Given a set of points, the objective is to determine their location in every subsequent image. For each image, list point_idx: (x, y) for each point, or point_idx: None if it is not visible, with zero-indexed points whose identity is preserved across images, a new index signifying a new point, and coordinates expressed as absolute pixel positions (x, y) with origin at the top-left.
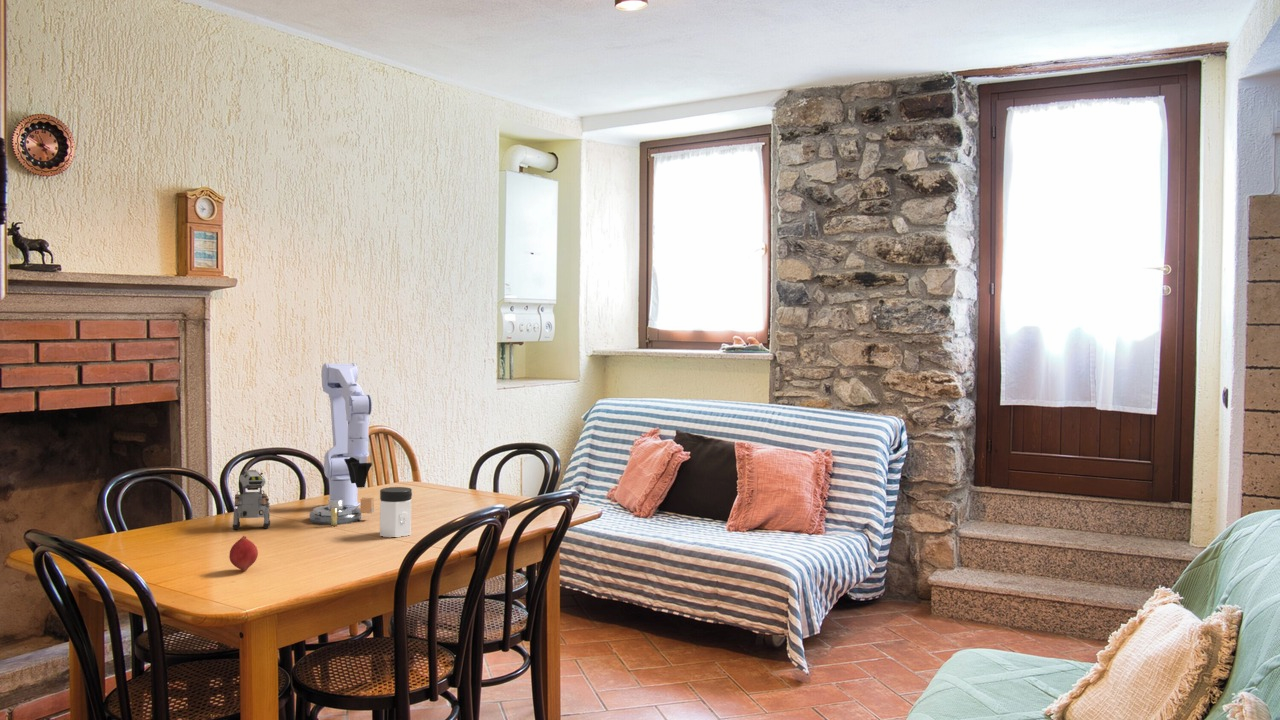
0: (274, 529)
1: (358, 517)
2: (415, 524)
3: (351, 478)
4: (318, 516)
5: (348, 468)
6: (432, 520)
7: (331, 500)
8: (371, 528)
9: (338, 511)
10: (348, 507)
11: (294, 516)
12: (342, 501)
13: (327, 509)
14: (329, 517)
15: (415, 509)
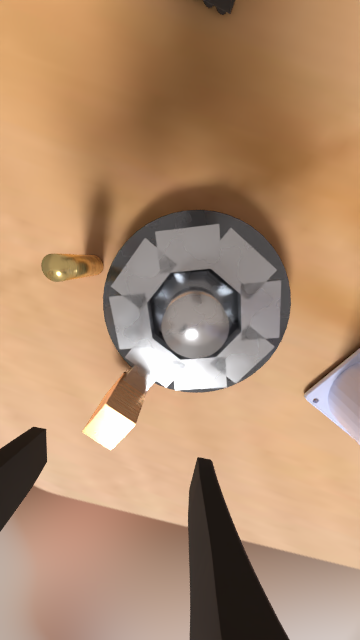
0: (141, 20)
1: None
2: None
3: (198, 489)
4: (154, 229)
5: (228, 598)
6: (56, 485)
7: (201, 310)
8: (17, 345)
9: (125, 303)
10: (183, 361)
11: (348, 197)
12: (171, 347)
13: (239, 298)
14: (114, 260)
15: None
